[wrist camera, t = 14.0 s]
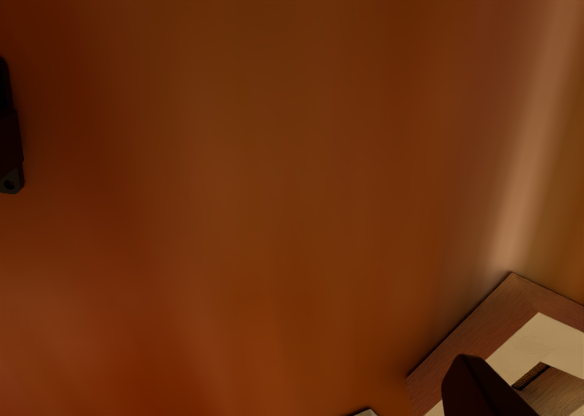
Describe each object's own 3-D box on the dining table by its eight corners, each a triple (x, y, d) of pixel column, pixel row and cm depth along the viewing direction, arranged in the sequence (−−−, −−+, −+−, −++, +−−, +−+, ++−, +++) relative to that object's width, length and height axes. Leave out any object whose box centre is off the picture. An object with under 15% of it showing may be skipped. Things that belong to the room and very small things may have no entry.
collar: (405, 379, 28) (416, 422, 26) (512, 272, 24) (538, 312, 21) (523, 422, 31) (543, 466, 28) (641, 333, 26) (678, 375, 24)
